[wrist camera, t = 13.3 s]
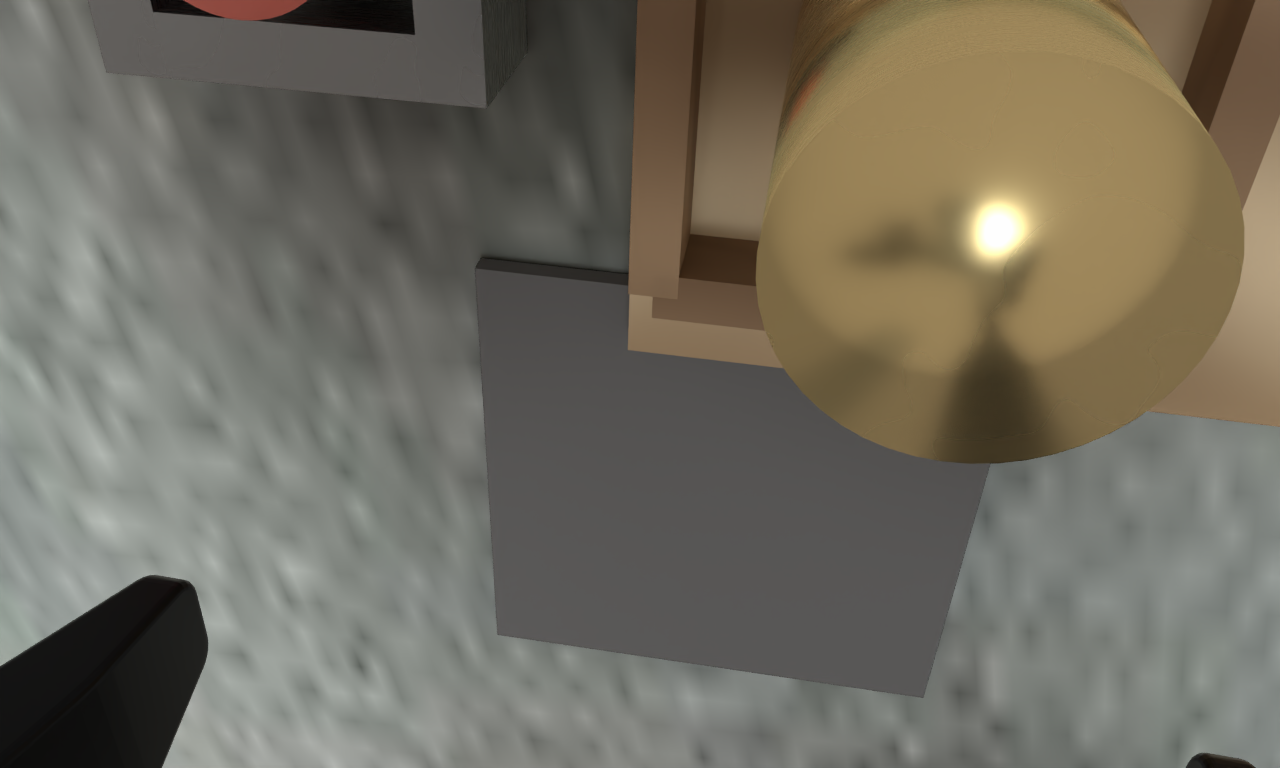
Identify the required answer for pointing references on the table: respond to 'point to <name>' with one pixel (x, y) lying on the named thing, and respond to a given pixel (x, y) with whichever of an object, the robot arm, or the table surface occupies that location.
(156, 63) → the button housing
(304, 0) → the button
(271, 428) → the table surface
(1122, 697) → the table surface
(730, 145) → the tray
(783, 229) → the cylinder
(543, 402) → the mat
